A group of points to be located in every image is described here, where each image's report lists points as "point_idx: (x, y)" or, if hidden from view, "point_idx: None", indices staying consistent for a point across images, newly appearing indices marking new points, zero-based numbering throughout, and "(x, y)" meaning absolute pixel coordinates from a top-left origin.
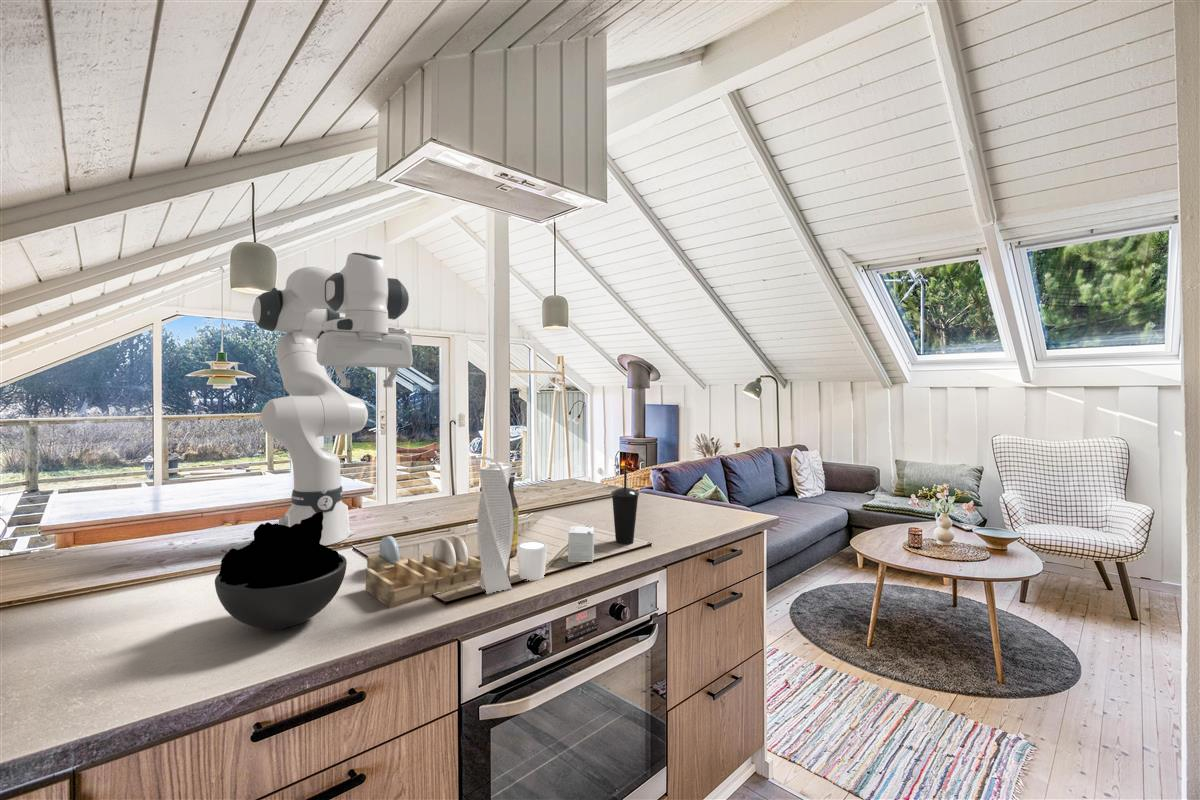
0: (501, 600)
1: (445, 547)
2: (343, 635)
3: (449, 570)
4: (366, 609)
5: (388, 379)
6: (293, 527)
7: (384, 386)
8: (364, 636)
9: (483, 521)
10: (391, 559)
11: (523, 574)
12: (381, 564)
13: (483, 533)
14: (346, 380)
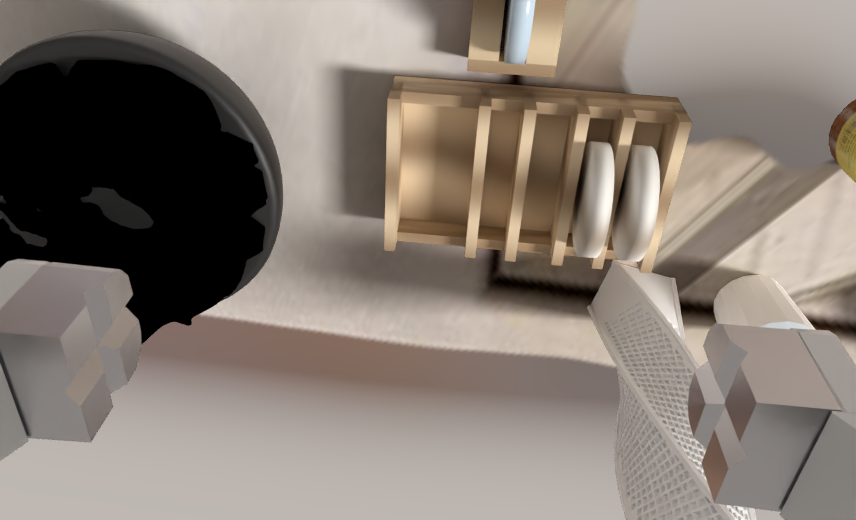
0: (583, 347)
1: (582, 240)
2: (269, 261)
3: (551, 258)
4: (348, 188)
5: (804, 470)
6: (111, 185)
7: (707, 353)
8: (299, 290)
9: (627, 410)
10: (506, 34)
11: (716, 314)
12: (475, 21)
13: (621, 384)
14: (40, 425)
